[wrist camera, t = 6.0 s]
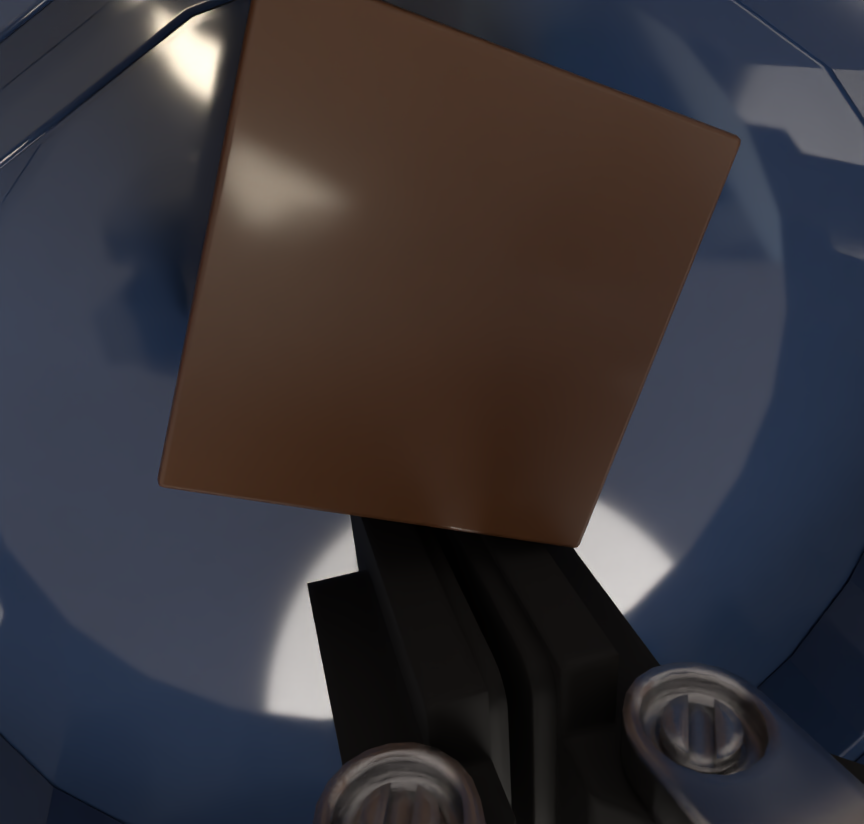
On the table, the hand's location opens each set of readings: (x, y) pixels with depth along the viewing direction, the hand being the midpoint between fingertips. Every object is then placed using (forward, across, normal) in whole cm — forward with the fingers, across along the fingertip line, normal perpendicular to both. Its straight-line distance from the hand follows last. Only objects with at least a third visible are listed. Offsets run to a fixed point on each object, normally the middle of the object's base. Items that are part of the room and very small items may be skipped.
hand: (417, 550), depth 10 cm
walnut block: (+2, 0, -4) cm, 4 cm away
